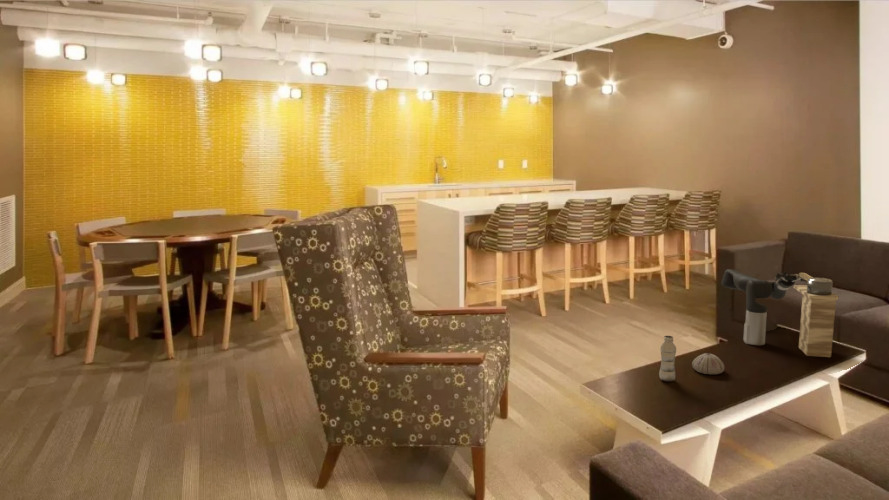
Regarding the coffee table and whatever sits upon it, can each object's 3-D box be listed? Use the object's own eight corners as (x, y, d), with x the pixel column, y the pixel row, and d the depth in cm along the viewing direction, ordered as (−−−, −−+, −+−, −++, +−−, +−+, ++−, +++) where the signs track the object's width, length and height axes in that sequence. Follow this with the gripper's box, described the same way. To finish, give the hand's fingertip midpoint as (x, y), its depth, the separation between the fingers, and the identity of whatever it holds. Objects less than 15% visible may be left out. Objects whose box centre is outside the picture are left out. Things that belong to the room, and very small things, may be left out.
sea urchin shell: (726, 378, 240) (726, 360, 239) (692, 374, 245) (693, 357, 244) (722, 367, 252) (723, 350, 251) (690, 364, 257) (691, 348, 256)
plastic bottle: (656, 377, 243) (657, 335, 239) (670, 376, 243) (672, 334, 240) (663, 383, 236) (664, 339, 233) (678, 382, 237) (679, 338, 234)
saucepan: (835, 295, 256) (836, 282, 255) (811, 295, 259) (812, 281, 258) (812, 282, 284) (813, 269, 283) (790, 281, 287) (791, 269, 286)
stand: (833, 357, 260) (838, 296, 255) (804, 355, 263) (809, 295, 258) (816, 342, 280) (820, 285, 276) (789, 341, 284) (793, 285, 279)
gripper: (770, 275, 314) (779, 266, 299) (798, 276, 310) (808, 267, 295) (771, 288, 311) (780, 279, 296) (800, 288, 307) (810, 280, 292)
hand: (794, 273), depth 296 cm, fingers open, 8 cm apart
